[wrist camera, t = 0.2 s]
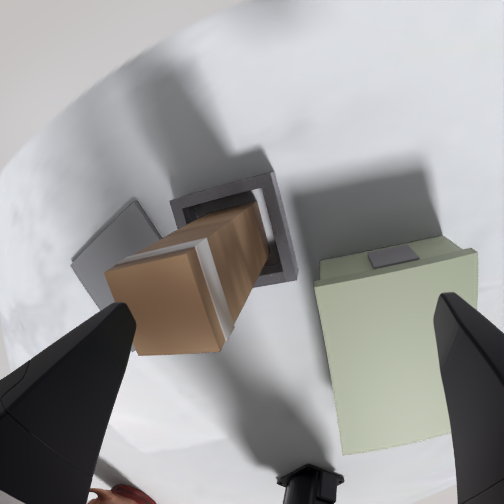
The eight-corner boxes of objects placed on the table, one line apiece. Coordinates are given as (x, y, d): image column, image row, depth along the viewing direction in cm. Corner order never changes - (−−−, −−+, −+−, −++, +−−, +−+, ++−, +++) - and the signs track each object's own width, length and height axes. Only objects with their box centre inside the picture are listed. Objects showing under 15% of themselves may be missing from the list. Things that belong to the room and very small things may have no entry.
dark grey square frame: (298, 270, 24) (296, 280, 22) (207, 286, 26) (199, 296, 24) (274, 171, 22) (270, 172, 20) (180, 197, 24) (169, 201, 22)
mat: (211, 307, 26) (209, 309, 26) (134, 349, 30) (132, 352, 29) (136, 200, 25) (133, 201, 24) (73, 263, 28) (70, 265, 28)
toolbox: (442, 392, 24) (457, 430, 19) (342, 412, 27) (342, 455, 22) (445, 229, 20) (477, 250, 15) (315, 256, 23) (313, 285, 18)
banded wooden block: (271, 253, 24) (221, 352, 12) (221, 262, 25) (138, 356, 13) (257, 200, 23) (187, 252, 11) (206, 213, 24) (102, 271, 12)
